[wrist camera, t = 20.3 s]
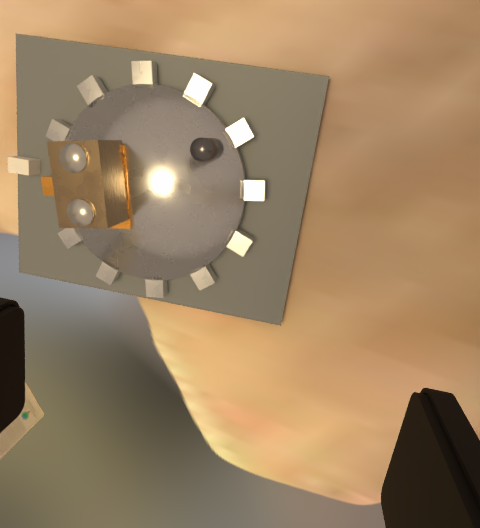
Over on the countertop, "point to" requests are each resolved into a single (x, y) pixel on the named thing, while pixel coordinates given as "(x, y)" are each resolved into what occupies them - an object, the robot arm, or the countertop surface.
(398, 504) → the robot arm
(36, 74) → the sprocket base
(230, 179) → the sprocket
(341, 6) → the countertop surface
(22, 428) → the ink cartridge box
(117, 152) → the brown rectangular block
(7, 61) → the countertop surface
